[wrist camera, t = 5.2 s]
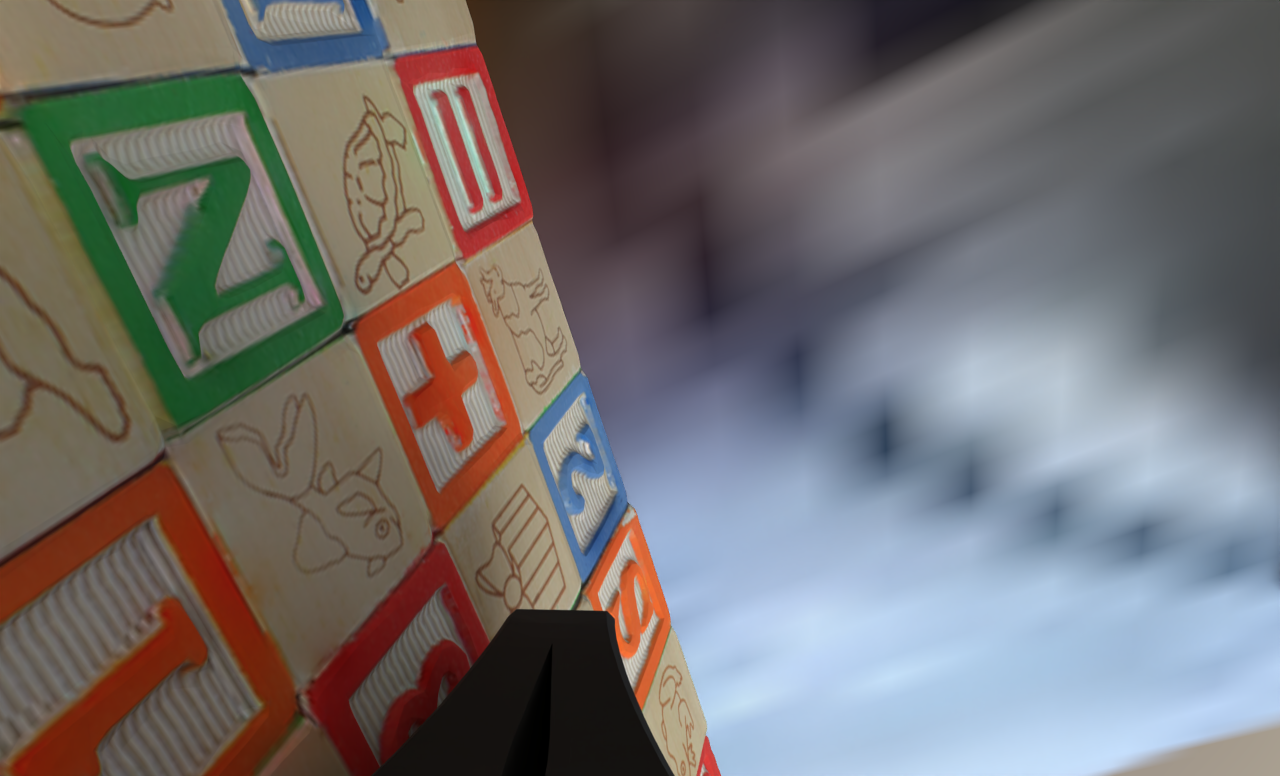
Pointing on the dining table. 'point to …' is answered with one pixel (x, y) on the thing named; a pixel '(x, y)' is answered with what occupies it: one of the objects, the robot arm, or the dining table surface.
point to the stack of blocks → (283, 394)
